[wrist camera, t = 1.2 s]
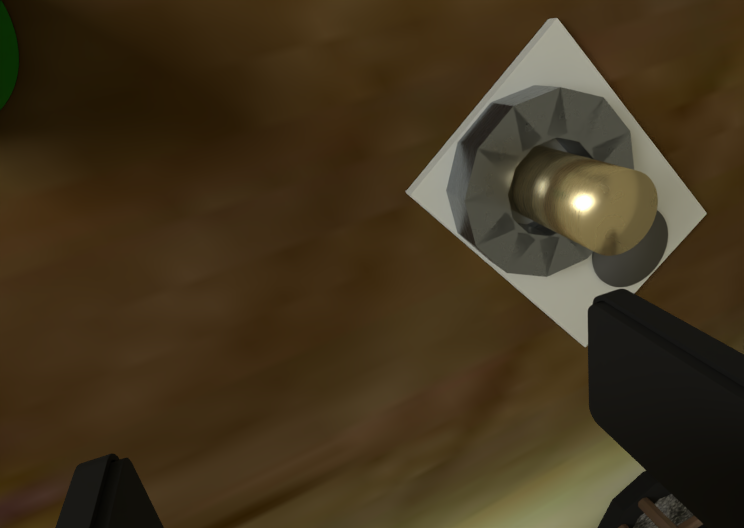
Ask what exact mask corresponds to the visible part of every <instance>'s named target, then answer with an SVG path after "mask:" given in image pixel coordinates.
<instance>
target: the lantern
mask: <svg viewBox="0 0 744 528" xmlns="http://www.w3.org/2000/svg"><path fill="white" fill-rule="evenodd" d="M598 528H707V527H706V526H705V525H704V524H703V523H702V522H701V521H700V520H698V519H697V518H696V517H695V516H694V515H693V514H692V513H691V512H690V511H689V510H688V509H687V508H686V507H685V506H684V505H683V504H682V503H681V502H679V501H678V500H677V499H676V498H675V497H674V496H673V495H672V494H671V493H670V492H669V491H668V490H667V489H666V488H665V487H664V486H663V485H662V484H660V483H659V482H658V481H657V480H656V479H655V478H654V477H653V476H652V475H651V474H650V473H649V472H648V471H645V472H643V473H642V474H641V475H639V476H638V477H637V478H636V479H635V480H634V481H633V482H632V483H631V484H629V485H628V486H627V487H626V488H625V489H624V490H623V491H622V492H621V493H619V494H618V495H617V496H616V497H615V498H614V499H613V500H612V502H611V503H610V505H609V507H608V509H607V511H606V513H605V515H604V517H603V519H602V520H601V522H600V524H599V526H598Z"/></svg>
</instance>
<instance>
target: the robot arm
mask: <svg viewBox="0 0 744 528" xmlns="http://www.w3.org/2000/svg"><path fill="white" fill-rule="evenodd" d="M588 370H589V409H590V412H591V415H592V417H593V418H594V420H595V421H596V423H597V424H598V425H599V426H600V427H601V428H602V429H603V430H604V431H606V432H607V433H608V434H609V435H610V436H611V437H612V438H613V439H614V440H615V441H616V442H617V443H618V444H619V445H620V446H621V447H622V448H623V449H625V450H626V451H627V452H628V453H629V454H630V455H631V456H632V457H633V458H634V459H635V460H636V461H637V462H638V463H639V464H640V465H641V466H642V467H644V468H645V469H646V470H647V471H648V472H649V473H650V474H651V475H652V476H653V477H654V478H655V479H656V480H657V481H658V482H659V483H660V484H662V485H663V486H664V487H665V488H666V489H667V490H668V491H669V492H670V493H671V494H672V495H673V496H674V497H675V498H676V499H677V500H678V501H679V502H681V503H682V504H683V505H684V506H685V507H686V508H687V509H688V510H689V511H690V512H691V513H692V514H693V515H694V516H695V517H696V518H697V519H698V520H700V521H701V522H702V523H703V524H704V525H705V526H706V527H707V528H744V355H743V354H742V353H740V352H738V351H736V350H734V349H733V348H731V347H729V346H727V345H725V344H724V343H722V342H720V341H718V340H716V339H715V338H713V337H711V336H709V335H707V334H706V333H704V332H702V331H700V330H698V329H697V328H695V327H693V326H691V325H689V324H688V323H686V322H684V321H682V320H680V319H679V318H677V317H675V316H673V315H671V314H670V313H668V312H666V311H664V310H662V309H661V308H659V307H657V306H655V305H653V304H652V303H650V302H648V301H646V300H644V299H643V298H641V297H639V296H637V295H635V294H634V293H632V292H630V291H628V290H626V289H617V290H614V291H611V292H608V293H605V294H602V295H599V296H597V297H595V298H594V300H593V304H592V305H591V306H590V307H589V308H588ZM56 528H164V527H163V525H162V523H161V521H160V519H159V517H158V515H157V513H156V511H155V509H154V507H153V505H152V503H151V501H150V499H149V497H148V495H147V493H146V491H145V489H144V487H143V485H142V483H141V480H140V478H139V476H138V474H137V472H136V470H135V468H134V466H133V464H132V462H131V461H130V460H129V459H128V458H123V459H119V458H118V456H116V455H115V454H109V455H106V456H103V457H100V458H97V459H94V460H90V461H87V462H84V463H81V464H79V465H78V466H77V467H76V469H75V472H74V475H73V478H72V481H71V484H70V486H69V489H68V492H67V495H66V498H65V501H64V504H63V507H62V510H61V513H60V516H59V519H58V522H57V525H56Z"/></svg>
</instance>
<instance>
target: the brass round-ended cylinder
mask: <svg viewBox="0 0 744 528" xmlns="http://www.w3.org/2000/svg"><path fill="white" fill-rule="evenodd" d="M508 198H509V203H510V208H511V210H513V211H515V212H517V213H519V214H521V215H523V216H525V217H527V218H529V219H531V220H533V221H535V222H537V223H538V224H540V225H542V226H544V227H546V228H548V229H550V230H552V231H554V232H556V233H558V234H560V235H562V236H564V237H566V238H568V239H570V240H572V241H574V242H576V243H578V244H580V245H582V246H584V247H586V248H588V249H590V250H592V251H594V252H596V253H598V254H601V255H605V256H613V255H618V254H621V253H624V252H626V251H628V250H630V249H631V248H633V247H634V246H635V245H637V244H638V243H639V242H640V241H641V240H642V239H643V238H644V236H645V235H646V234H647V232H648V231H649V229H650V228H651V226H652V224H653V221H654V219H655V216H656V212H657V206H658V196H657V191H656V187H655V185H654V183H653V182H652V180H651V179H650V178H649V177H648V176H647V175H646V174H644V173H642V172H640V171H636V170H633V169H629V168H625V167H621V166H617V165H614V164H610V163H606V162H602V161H598V160H594V159H591V158H587V157H583V156H579V155H575V154H571V153H568V152H564V151H560V150H556V149H552V148H549V147H545V146H541V145H537V146H535V147H533V148H532V149H531V150H530V152H529V153H528V154H527V155H526V156H525V158H524V159H523V160H522V161H521V162H520V163H519V165H518V166H517V167H516V168H515V171H514V174H513V178H512V182H511V185H510V189H509V192H508Z"/></svg>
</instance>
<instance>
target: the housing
mask: <svg viewBox="0 0 744 528" xmlns="http://www.w3.org/2000/svg"><path fill="white" fill-rule="evenodd" d="M554 138H555V139H556V140H557V141H558V142H559V143H560V144H561V145H562V147H563V148H564V149H565V150H566V151H567V152H568V153H571V154H575V155H579V156H583V157H587V158H591V159H594V160H598V161H602V162H606V163H610V164H614V165H617V166H621V167H625V168H629V169H633V170H634V162H633V153H632V143H631V133H630V130H629V129H628V128H627V126H626V125H625V124H624V122H623V121H622V120H621V119H620V117H619V116H618V115H617V114H616V112H615V111H614V110H613V108H612V107H611V106H610V105H609V103H608V102H607V101H606V99H605V98H604V97H600V96H596V95H592V94H588V93H583V92H579V91H575V90H571V89H567V88H562V87H553V86H540V85H533V86H531V87H528V88H526V89H523V90H521V91H518V92H516V93H513V94H511V95H508V96H506V97H503V98H501V99H498V100H496V101H493V102H491V103H490V104H489V105H488V106H487V107H486V109H485V110H484V111H483V112H482V113H481V115H480V116H479V117H478V118H477V120H476V121H475V122H474V123H473V124H472V126H471V127H470V128H469V129H468V130H467V132H466V133H465V134H464V135H463V136H462V138H461V139H460V140H459V141H458V143H457V147H456V151H455V156H454V160H453V164H452V168H451V172H450V176H449V181H448V185H447V189H446V192H447V196H448V200H449V203H450V207H451V211H452V214H453V218H454V222H455V225H456V229H457V233H458V234H459V235H460V236H462V237H463V238H464V239H465V240H466V241H467V242H468V243H470V244H471V245H472V246H473V247H474V248H475V249H476V250H478V251H479V252H480V253H481V254H482V255H483V256H484V257H486V258H487V259H488V260H490V261H491V262H492V263H494V264H495V265H496V266H498V267H499V268H500V269H502V270H503V271H505V272H506V273H512V274H522V275H532V276H543V277H548V276H550V275H552V274H554V273H557V272H559V271H561V270H563V269H566V268H568V267H570V266H572V265H574V264H577V263H579V262H581V261H583V260H585V259H587V258H588V257H589V256H590V255H591V254H592V253H593V252H594V251H592V250H590V249H588V248H586V247H584V246H582V245H580V244H578V243H576V242H574V241H572V240H570V239H568V238H566V237H564V236H562V235H560V234H558V233H556V232H554V231H552V230H550V229H548V228H546V227H544V226H542V225H540V224H538V223H537V222H535V221H533V222H531V223H529V224H521V223H517V222H516V221H515V220H514V219H513V217H512V212H511V208H510V203H509V198H508V192H509V189H510V185H511V182H512V178H513V174H514V171H515V168H516V167H517V166H518V165H519V163H520V162H521V161H522V160H523V159H524V158H525V156H526V155H527V154H528V153H529V152H530V150H531V149H532V148H533V147H535V146H537V145H540V144H542V143H545V142H547V141H549V140H552V139H554Z"/></svg>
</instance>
